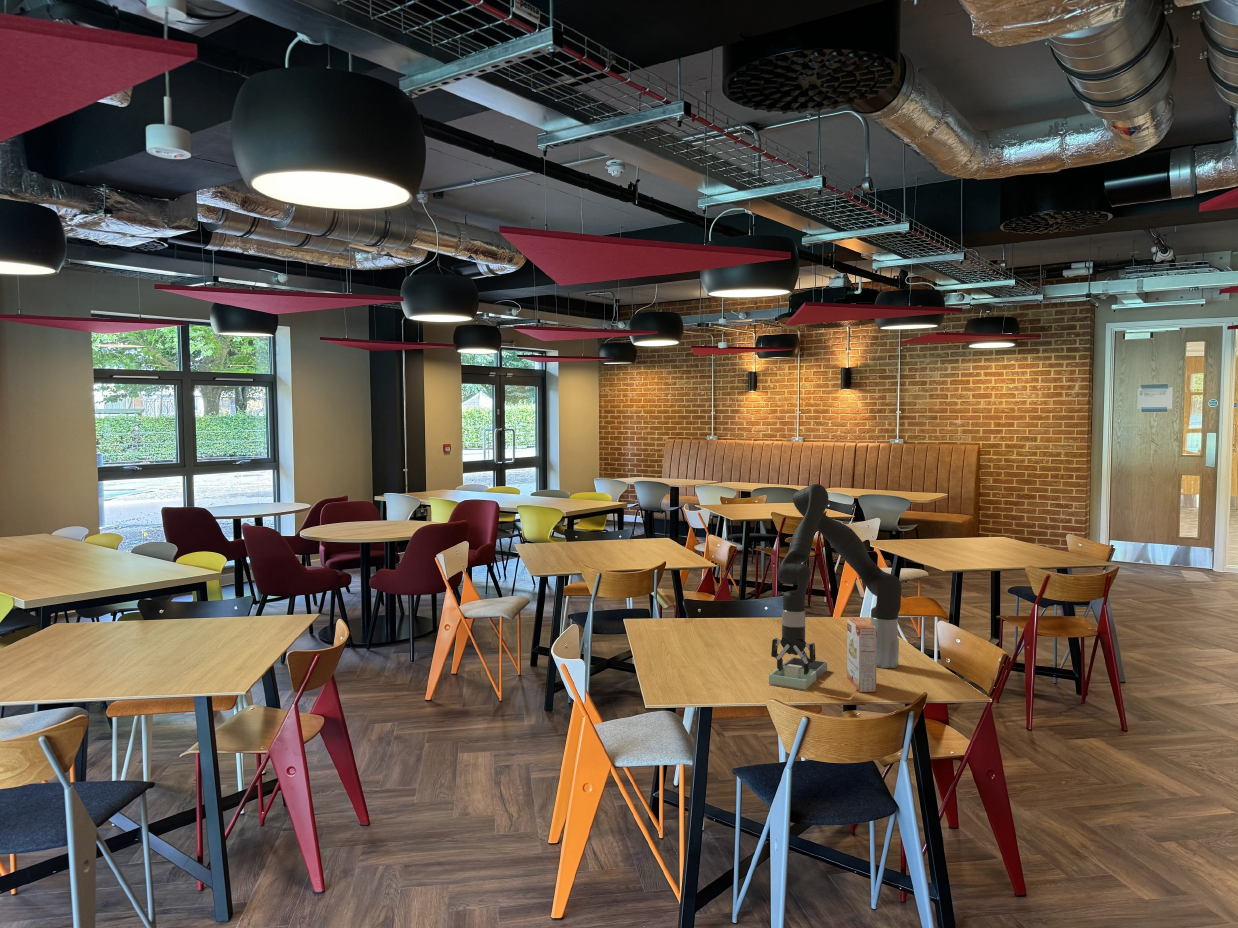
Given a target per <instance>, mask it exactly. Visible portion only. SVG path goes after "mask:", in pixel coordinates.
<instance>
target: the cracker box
mask: <svg viewBox="0 0 1238 928" xmlns="http://www.w3.org/2000/svg"><path fill="white" fill-rule="evenodd" d="M846 621H847V623H846V625H847V626H846V627H847V631H846V632H847V635H846V637H847V643H846V644H847V645H846V657H847V658H846V659H847V660H846V661H847V662H846V663H847V664H846V666H847V667H846V669H847V671H846V673H847V674H846V678H847V679H848V681H849V682H850V683H851V684H852V686H854V687H855V688H856V691H858V693H877V667H876V655H877V629H876V628H875V627H874V626H872V625H871V622H868V621H867V620H866V619H864V618H847V620H846Z"/></svg>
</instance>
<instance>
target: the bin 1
mask: <svg viewBox="0 0 1238 928" xmlns="http://www.w3.org/2000/svg"><path fill="white" fill-rule="evenodd" d="M816 681H817V679H816V671H811V670H810V671H809V673H808V674H807V675H804V669H802V679H796V678H790V677H785V666H783V670H782V671H779V669H777V668H776V669H775V670H773V671H772V672H771V673H770V674H768V685H769V686H770V687H771V686H772V687H776V688H783V689H789V690H795V691H801V692H806V691H807V689H808V688H809V687H810V686H811V685H813V684H814V683H815V682H816Z"/></svg>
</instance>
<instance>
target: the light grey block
mask: <svg viewBox="0 0 1238 928" xmlns="http://www.w3.org/2000/svg"><path fill="white" fill-rule="evenodd" d="M785 677H790V678H796V679H802V666H799V665H792V664H788V665H787V666H786V667H785Z"/></svg>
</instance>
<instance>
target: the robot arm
mask: <svg viewBox="0 0 1238 928" xmlns="http://www.w3.org/2000/svg"><path fill="white" fill-rule="evenodd" d="M792 502H793V505H794V507H795V508H796V510H797V511H798V512H799V514H801V516H803V517H802V520H801V521H800V523H799V524H798V526H797V528H796V529H795V531H794V532H793V535H792V537H791V540H790V544H789V548H788V552H787V553H786V554H785V556H784V558H783V559H782V561H781V562H780V565H779V567H778V569H777V579H778V581H779V582H780V583H782V584H784V585H793V586H794V585H795V586H797V589H795V590H789V591H786V592H784V593H783V595H782V615H781V639H778V638H777V637H775V638H773V639H772V640H771V654H770V655H771V657H772V658H775V659H776V669H779V671H782V670H783V664H784V663H783V662H784V658H783V657H784V656H785V655H786V654H787V655H794V656H799V658H802V660H803V661H804V675H807V674H808V673H809V671H810V663H813V662H814V661H815V660H816V659H817V658H816V644H815V642H811V643H807V642H806V606H805V604H806V595H807V589H808V586H809V584H810V580H811V577H812V576H811V575H812V572H811V568H810V567H809V566H808V565H807V564H805V563H806V562H808V560H809V559H810V556H811V551H812V547H813V544H814V543H813V542H814V538H815V536H816V532H817V531H818V532H819V533H820V534H821V535H822V537H824V539H825V540H827V542H828V543H829V544H830V546H832V548H833V549H834V550H835V551H836V553H837V554H838V555H839V556H840V557H841V558H842V559H843V560H844V561H845V562H846V563H847V564H848V565H849V566H850V568H852V570H854V571H855V572H856V574H857V575H858V577H859V578H860V579H861V581H862V582H863V583H864V585H865V587H866V588H867V589H868V590H869V592H870V593H871V594H872V595H874V596H876V604H875V606H874V607H872V608H871V610H870V624H871V625H872V626H874V627H875V628H876V629H877V655H876V668H882V669H896V668H897V667H898V665H899V660H900V659H899V655H900V653H899V652H900V647H899V646H900V645H899V644H900V643H899V642H900V638H898V634H899V633H898V631H899V627H898V626H899V624H898V622H899V613H900V611H901V604H902V584H901V580H900V579H899V578H898V577H897V576H896V575H894V574H891V573H889V572H885V571H884V570H883V569H882V568H881V567H879V566H878V565H877V564H876V563H875V562H874V561H873V560H872V558H871V557H870V555H869V553H868V550H867V548H866V545H865V544H864V541H862V539H861V538H860V537H859V536H858V534H857V533H856V532H855V531H854V530H853V529H852V528H851V527H850V526H848V525H846V524H845V523H842V522H840V521H838V520H836V519H834V518H832V517H830V516H828V515H827V514H826V513H825V511H826V509H827V507H828V504H829V493H828V491H827V489H826V488H825V487H824V486H823V485H822V484H820V483H815V484H811V485H808V486H806V487H803V488H801V489H798V490H797V491H796V492H795V493H794V494H793V496H792ZM778 646H781V647H782V649H781V650H780V651H779V652H778V648H779V647H778ZM805 648H807V650H808V651H809V656H808V653H807V652H806V651H805ZM816 661H817V660H816Z"/></svg>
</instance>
